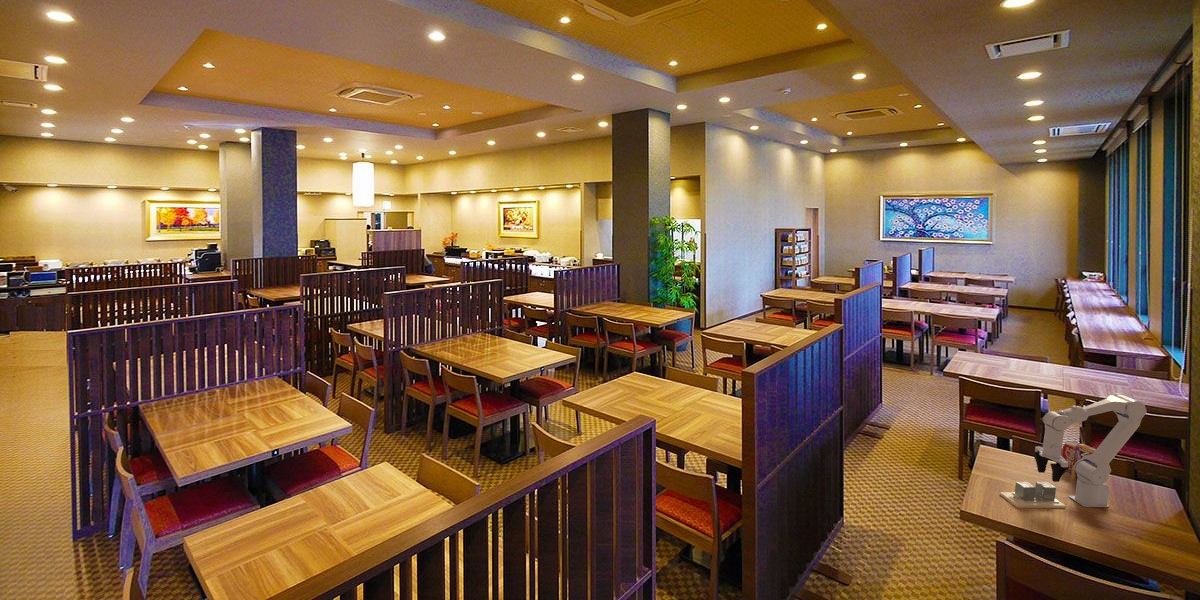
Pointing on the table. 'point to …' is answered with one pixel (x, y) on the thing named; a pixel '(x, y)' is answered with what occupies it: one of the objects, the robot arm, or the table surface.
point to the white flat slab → (1036, 500)
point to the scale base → (1021, 504)
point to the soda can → (1069, 453)
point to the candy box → (1080, 456)
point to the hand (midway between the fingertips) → (1048, 476)
